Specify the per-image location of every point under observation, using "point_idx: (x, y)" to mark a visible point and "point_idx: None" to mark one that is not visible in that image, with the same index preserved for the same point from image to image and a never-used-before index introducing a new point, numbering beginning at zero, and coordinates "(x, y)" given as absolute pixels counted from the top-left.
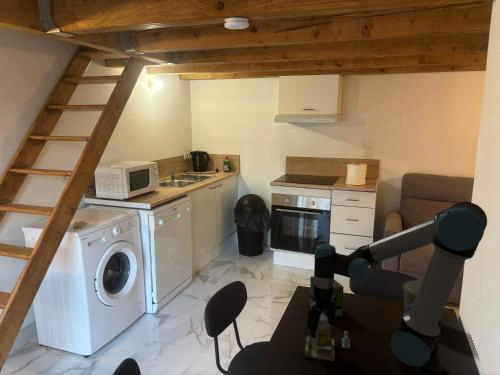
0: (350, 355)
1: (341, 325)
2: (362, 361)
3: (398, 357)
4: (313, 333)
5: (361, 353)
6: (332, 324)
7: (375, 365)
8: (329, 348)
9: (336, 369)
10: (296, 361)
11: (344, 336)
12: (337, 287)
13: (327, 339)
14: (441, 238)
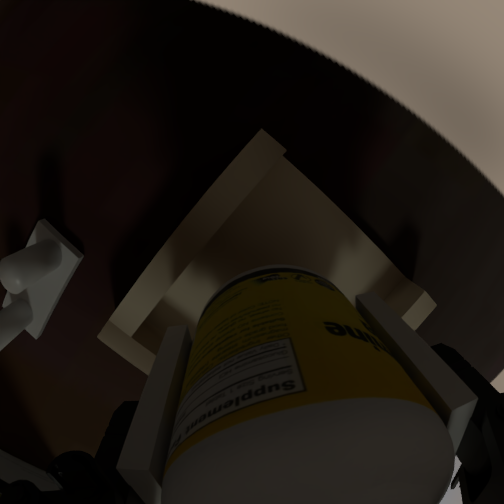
0: (86, 148)
1: (7, 412)
2: (68, 61)
3: None
4: (484, 378)
5: (15, 143)
6: (85, 455)
7: (42, 14)
8: (188, 283)
9: (310, 57)
10: (469, 268)
11: (18, 325)
12: None
13: (254, 297)
14: None
